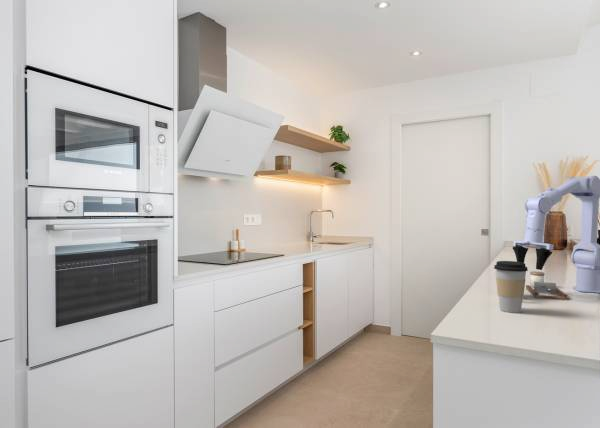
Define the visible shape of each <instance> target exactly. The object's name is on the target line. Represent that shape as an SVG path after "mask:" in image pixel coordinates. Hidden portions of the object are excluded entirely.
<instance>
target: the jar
mask: <svg viewBox="0 0 600 428" xmlns="http://www.w3.org/2000/svg"><path fill="white" fill-rule="evenodd" d="M529 274H530V275H529V286H530V287H531V288H533V289H534V282H545V276H546V275H545V272H543V271H536V270H535V271H534V270H533V271H529Z"/></svg>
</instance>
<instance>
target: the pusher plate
mask: <svg viewBox="0 0 600 428" xmlns="http://www.w3.org/2000/svg"><path fill="white" fill-rule="evenodd" d="M556 288H557V283H556V282H547V281H546V282H545V281H544V282H534V288H533V289H534V290H535V291H536V292H538V294H546V295H547V294H548V295H557V294H556Z"/></svg>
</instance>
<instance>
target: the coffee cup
mask: <svg viewBox="0 0 600 428" xmlns="http://www.w3.org/2000/svg"><path fill="white" fill-rule="evenodd" d="M493 269H494V270H495V269H496V270H497V283H496V288H497V287H498V292H497V296H498V295H499V297H498V300H499V310H500V311H502V312H504V311H505V313H509V312H510V314H511V313H513V314H519V313H521V312H522V306H523V298H524V293H525V289H526V273H527V272H528V271H529V270H528V267H527V266H526V263H525V262H524V263H522V262H517V261H513V260H498V261H496V264H495V265H494V267H493Z"/></svg>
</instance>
